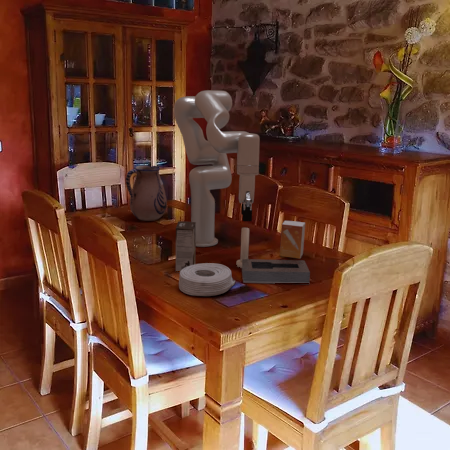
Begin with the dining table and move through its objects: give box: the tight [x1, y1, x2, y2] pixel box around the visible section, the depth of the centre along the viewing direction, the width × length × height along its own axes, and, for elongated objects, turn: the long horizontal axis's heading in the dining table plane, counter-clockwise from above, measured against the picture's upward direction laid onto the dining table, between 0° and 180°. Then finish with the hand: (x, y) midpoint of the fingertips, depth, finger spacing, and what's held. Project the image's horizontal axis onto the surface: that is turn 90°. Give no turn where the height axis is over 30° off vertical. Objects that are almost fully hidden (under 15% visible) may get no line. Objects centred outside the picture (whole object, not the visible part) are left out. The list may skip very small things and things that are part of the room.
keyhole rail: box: [241, 258, 311, 284], centre depth 181 cm, size 22×12×4 cm, turn 91°
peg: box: [235, 227, 250, 269], centre depth 190 cm, size 6×6×14 cm
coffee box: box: [175, 220, 196, 272], centre depth 186 cm, size 9×6×16 cm
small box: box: [279, 220, 306, 260], centre depth 203 cm, size 8×6×13 cm
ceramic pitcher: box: [125, 164, 168, 222], centre depth 248 cm, size 18×21×25 cm
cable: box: [178, 262, 236, 297], centre depth 170 cm, size 18×18×6 cm
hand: (246, 217), depth 187 cm, fingers open, 9 cm apart
